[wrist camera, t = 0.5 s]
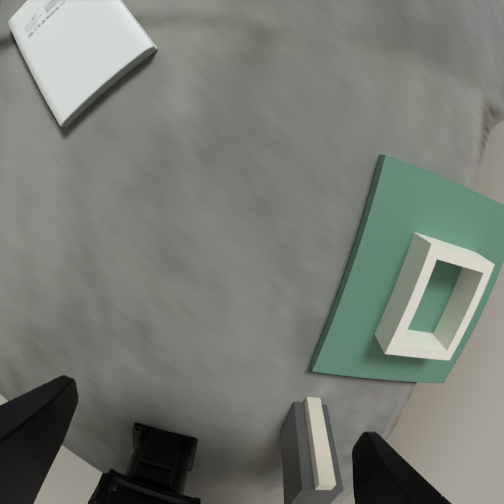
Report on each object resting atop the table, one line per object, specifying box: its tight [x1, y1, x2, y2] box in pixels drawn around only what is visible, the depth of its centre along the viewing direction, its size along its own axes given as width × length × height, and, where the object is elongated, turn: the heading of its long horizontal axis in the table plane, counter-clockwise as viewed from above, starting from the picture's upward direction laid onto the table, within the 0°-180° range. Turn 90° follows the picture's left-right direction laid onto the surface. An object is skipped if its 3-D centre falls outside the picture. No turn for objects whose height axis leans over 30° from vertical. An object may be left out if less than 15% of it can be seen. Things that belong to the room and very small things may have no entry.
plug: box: [281, 397, 343, 504], centre depth 22 cm, size 5×3×9 cm, turn 167°
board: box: [311, 155, 504, 383], centre depth 20 cm, size 16×13×4 cm
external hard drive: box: [8, 0, 158, 127], centre depth 16 cm, size 2×8×12 cm
